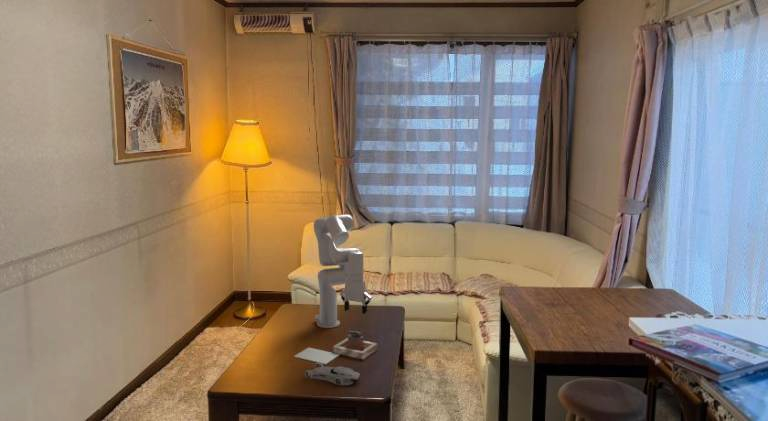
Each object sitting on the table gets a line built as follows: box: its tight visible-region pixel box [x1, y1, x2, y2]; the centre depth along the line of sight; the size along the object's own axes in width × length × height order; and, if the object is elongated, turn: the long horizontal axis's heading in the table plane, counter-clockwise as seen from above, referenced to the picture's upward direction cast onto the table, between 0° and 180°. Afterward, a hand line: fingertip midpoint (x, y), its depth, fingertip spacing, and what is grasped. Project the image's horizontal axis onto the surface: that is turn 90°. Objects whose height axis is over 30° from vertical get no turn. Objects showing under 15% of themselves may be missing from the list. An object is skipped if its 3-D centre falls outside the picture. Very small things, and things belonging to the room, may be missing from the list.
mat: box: [293, 347, 341, 365], centre depth 254 cm, size 18×12×1 cm, turn 63°
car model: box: [304, 362, 360, 386], centre depth 231 cm, size 11×24×5 cm, turn 67°
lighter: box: [347, 330, 364, 351], centre depth 260 cm, size 8×3×10 cm, turn 71°
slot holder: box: [332, 337, 379, 360], centre depth 260 cm, size 17×14×3 cm
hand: (355, 311), depth 257 cm, fingers open, 9 cm apart
